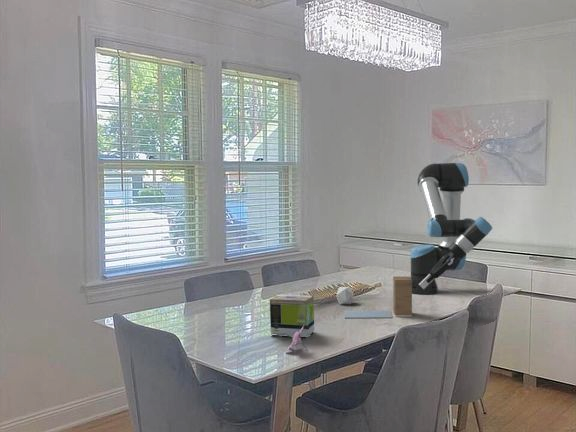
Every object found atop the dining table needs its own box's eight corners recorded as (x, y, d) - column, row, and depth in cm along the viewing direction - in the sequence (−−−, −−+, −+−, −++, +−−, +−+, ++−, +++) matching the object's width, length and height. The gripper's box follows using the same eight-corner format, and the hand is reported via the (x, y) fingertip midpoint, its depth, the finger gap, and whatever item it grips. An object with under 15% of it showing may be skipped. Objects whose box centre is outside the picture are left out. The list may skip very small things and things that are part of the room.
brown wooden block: (393, 312, 262) (393, 276, 260) (409, 312, 261) (409, 276, 260) (395, 316, 255) (395, 279, 253) (411, 316, 254) (411, 279, 253)
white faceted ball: (348, 308, 274) (358, 290, 276) (332, 298, 275) (342, 280, 278) (347, 310, 282) (356, 292, 284) (331, 301, 283) (341, 283, 285)
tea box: (314, 332, 234) (314, 294, 233) (307, 339, 225) (306, 300, 223) (278, 329, 239) (278, 293, 238) (270, 336, 230) (269, 298, 228)
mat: (343, 311, 265) (343, 310, 265) (389, 311, 264) (389, 310, 264) (344, 318, 253) (344, 317, 253) (392, 318, 252) (392, 317, 252)
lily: (299, 346, 219) (286, 326, 218) (322, 339, 213) (309, 318, 212) (286, 364, 210) (273, 343, 209) (310, 357, 204) (297, 336, 203)
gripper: (470, 256, 247) (430, 296, 250) (463, 251, 260) (424, 289, 263) (457, 243, 247) (417, 283, 250) (451, 239, 260) (412, 277, 263)
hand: (421, 286), depth 256 cm, fingers closed
